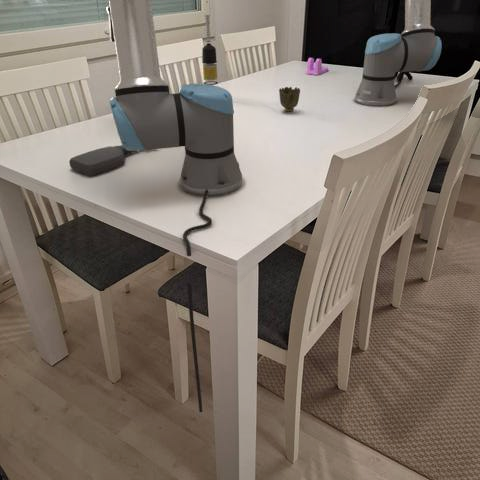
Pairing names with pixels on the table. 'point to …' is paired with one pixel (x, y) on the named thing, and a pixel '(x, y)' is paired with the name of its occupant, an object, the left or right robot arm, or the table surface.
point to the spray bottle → (99, 160)
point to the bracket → (317, 69)
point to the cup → (289, 98)
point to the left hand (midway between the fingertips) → (135, 63)
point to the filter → (209, 58)
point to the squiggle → (401, 74)
